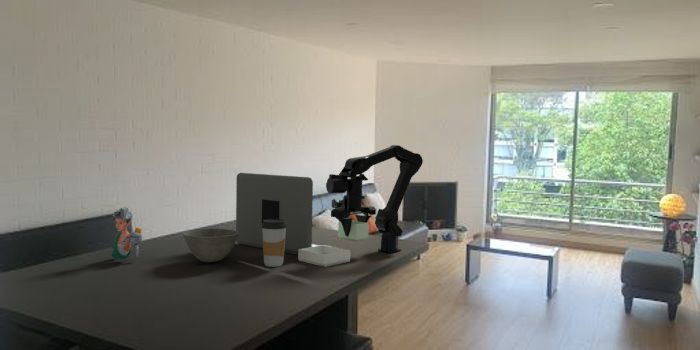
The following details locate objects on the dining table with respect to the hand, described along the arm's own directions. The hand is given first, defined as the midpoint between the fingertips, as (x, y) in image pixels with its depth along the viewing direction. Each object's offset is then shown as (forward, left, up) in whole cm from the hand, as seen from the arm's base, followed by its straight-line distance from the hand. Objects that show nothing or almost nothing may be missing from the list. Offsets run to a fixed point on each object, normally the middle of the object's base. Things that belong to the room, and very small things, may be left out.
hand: (353, 235), depth 197 cm
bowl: (+42, -28, -8) cm, 51 cm away
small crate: (0, 0, -1) cm, 1 cm away
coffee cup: (+30, -9, -8) cm, 32 cm away
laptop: (+2, -29, -8) cm, 31 cm away
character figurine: (+63, -50, -8) cm, 81 cm away
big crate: (+13, -2, -8) cm, 15 cm away
